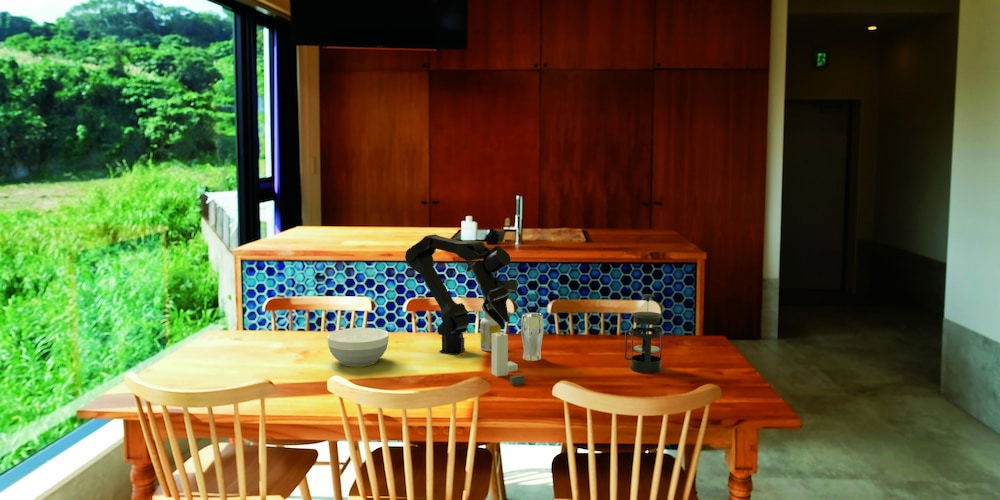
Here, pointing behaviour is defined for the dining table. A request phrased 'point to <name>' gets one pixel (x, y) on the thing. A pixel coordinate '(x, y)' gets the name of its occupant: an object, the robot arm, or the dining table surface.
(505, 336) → the white rectangular block
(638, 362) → the french press
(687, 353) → the dining table surface
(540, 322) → the beer glass
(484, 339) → the supplement bottle
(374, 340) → the bowl
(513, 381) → the console board
